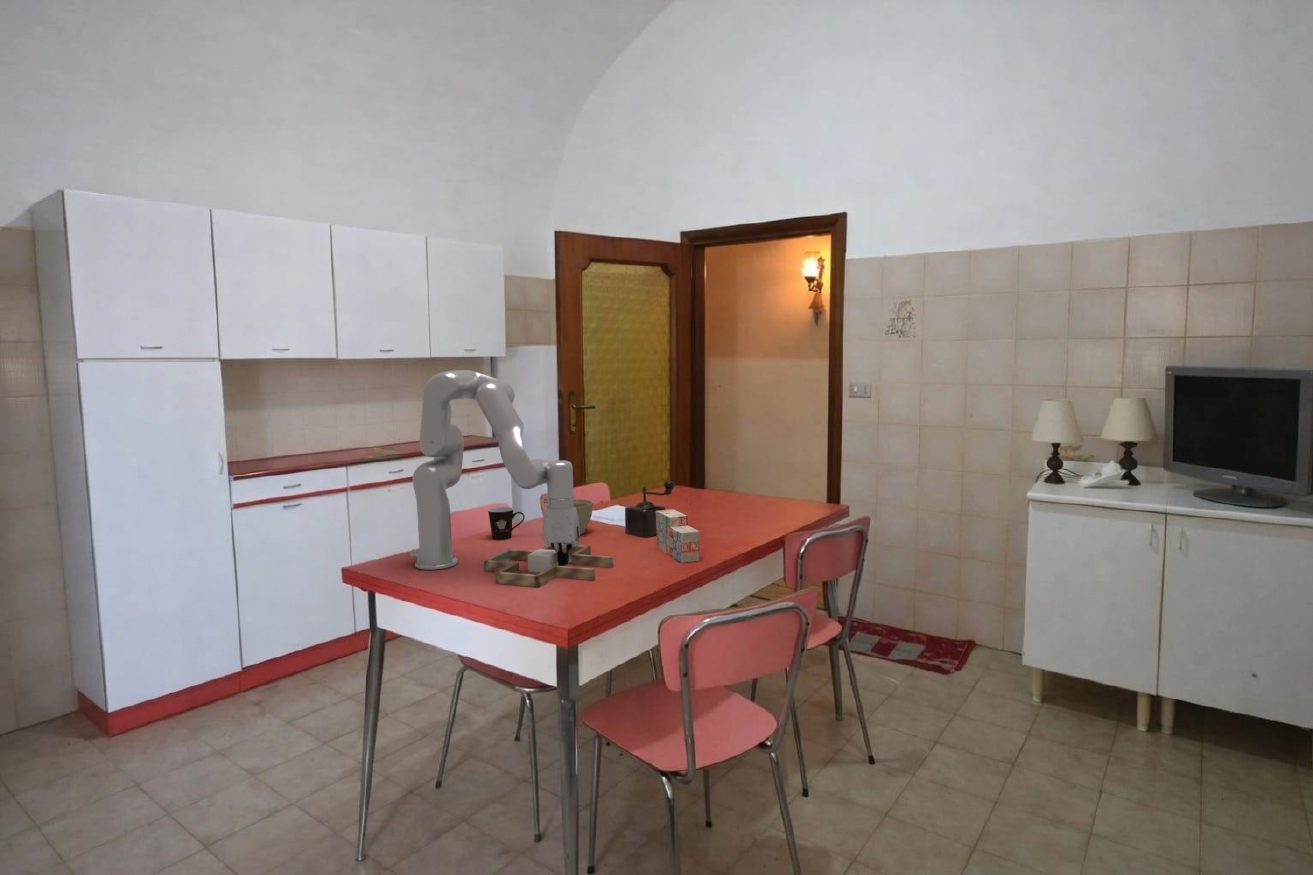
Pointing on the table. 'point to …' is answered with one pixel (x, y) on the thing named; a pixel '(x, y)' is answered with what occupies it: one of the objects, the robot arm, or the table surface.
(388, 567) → the table surface
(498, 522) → the coffee mug
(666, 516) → the stack of blocks
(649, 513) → the manual coffee grinder
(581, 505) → the planter bowl
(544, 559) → the cream block
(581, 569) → the low wooden maze walls
